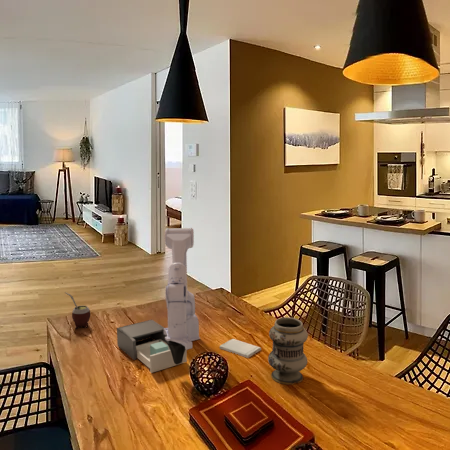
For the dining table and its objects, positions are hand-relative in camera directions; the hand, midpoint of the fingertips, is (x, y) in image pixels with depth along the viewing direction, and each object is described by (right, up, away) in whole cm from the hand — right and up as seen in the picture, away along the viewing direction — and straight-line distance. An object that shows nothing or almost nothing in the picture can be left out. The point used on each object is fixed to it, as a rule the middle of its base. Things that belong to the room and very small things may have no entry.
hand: (178, 362), depth 139 cm
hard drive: (+20, -2, +19) cm, 28 cm away
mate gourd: (-44, +2, +40) cm, 59 cm away
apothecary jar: (+34, -4, -1) cm, 34 cm away
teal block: (-7, -2, +11) cm, 13 cm away
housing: (-15, -1, +21) cm, 25 cm away
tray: (-8, -2, +12) cm, 15 cm away
